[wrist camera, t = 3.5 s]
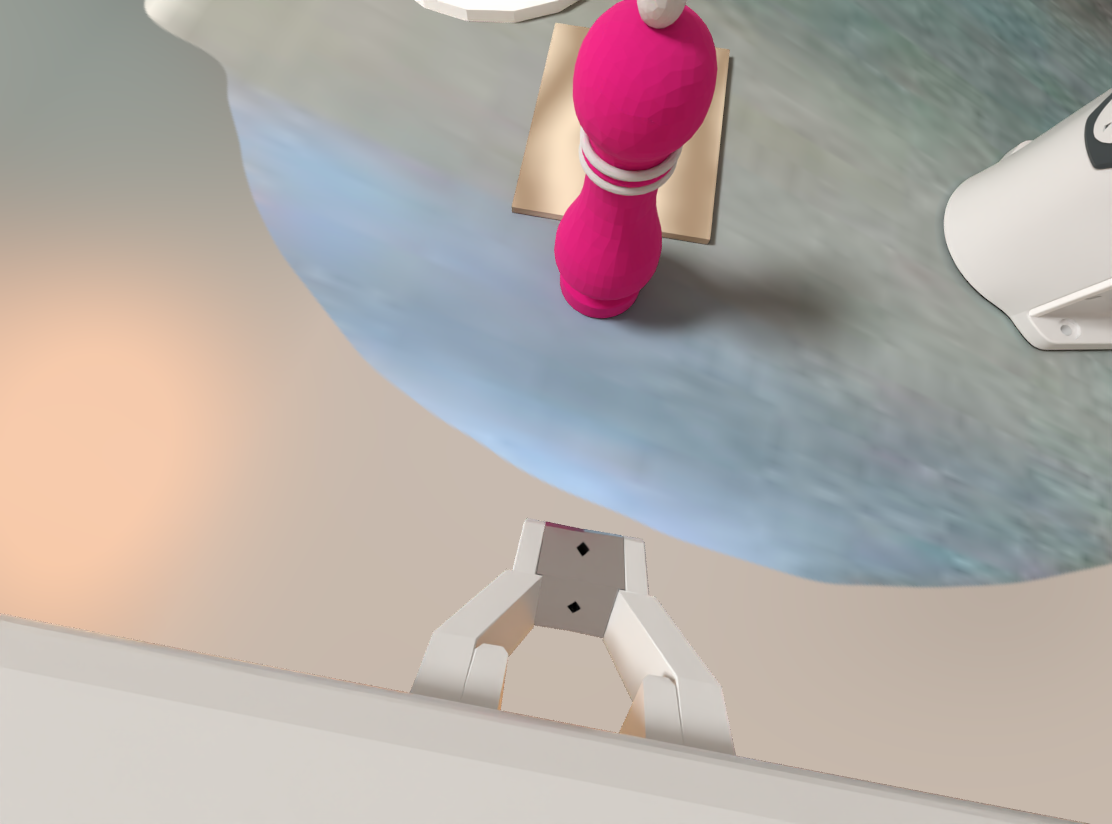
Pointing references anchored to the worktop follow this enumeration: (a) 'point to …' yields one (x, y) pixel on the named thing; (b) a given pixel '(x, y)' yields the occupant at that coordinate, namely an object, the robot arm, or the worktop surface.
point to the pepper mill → (630, 145)
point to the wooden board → (555, 143)
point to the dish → (496, 9)
